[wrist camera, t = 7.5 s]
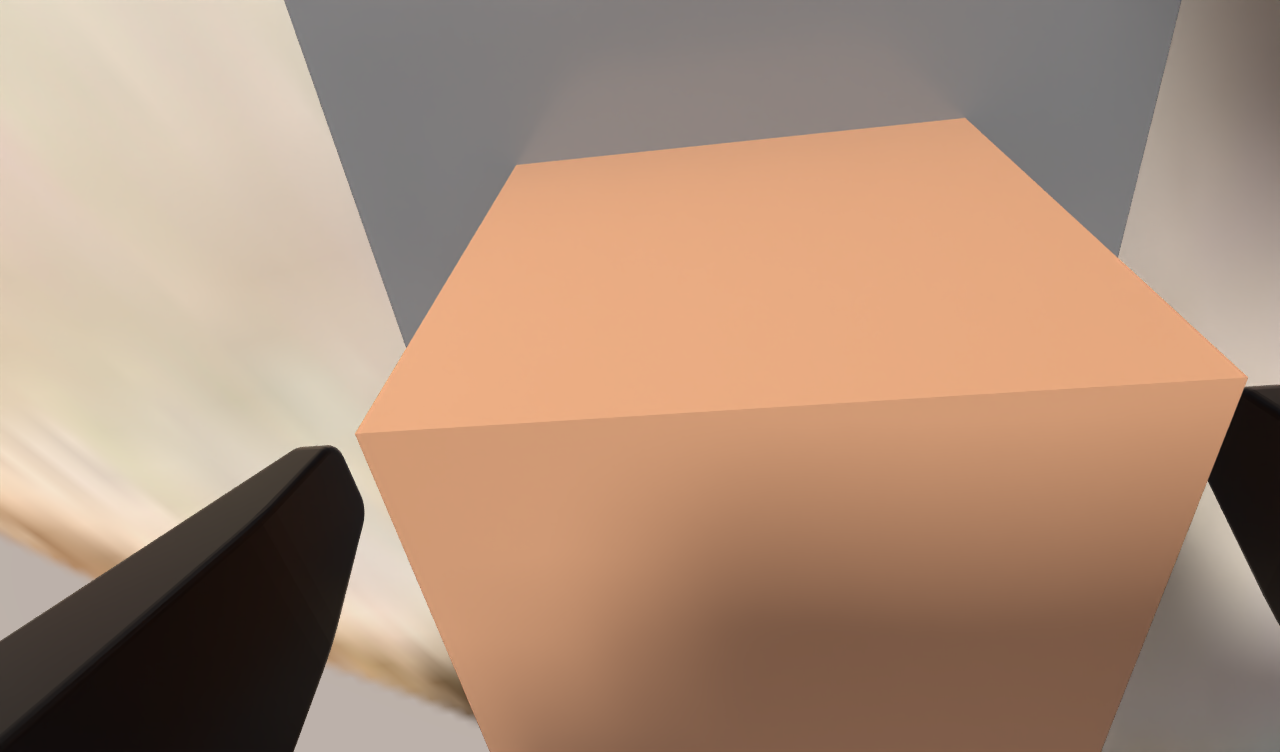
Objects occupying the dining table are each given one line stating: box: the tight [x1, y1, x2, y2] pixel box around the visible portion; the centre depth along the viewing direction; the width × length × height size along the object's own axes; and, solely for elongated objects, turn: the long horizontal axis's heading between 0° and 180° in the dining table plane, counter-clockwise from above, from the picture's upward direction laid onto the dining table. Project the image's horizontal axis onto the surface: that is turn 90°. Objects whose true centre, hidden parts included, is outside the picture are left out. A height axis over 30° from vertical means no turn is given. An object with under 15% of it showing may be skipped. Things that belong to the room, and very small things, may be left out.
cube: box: [355, 118, 1248, 752], centre depth 8 cm, size 5×5×5 cm
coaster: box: [284, 0, 1181, 348], centre depth 10 cm, size 9×9×1 cm
